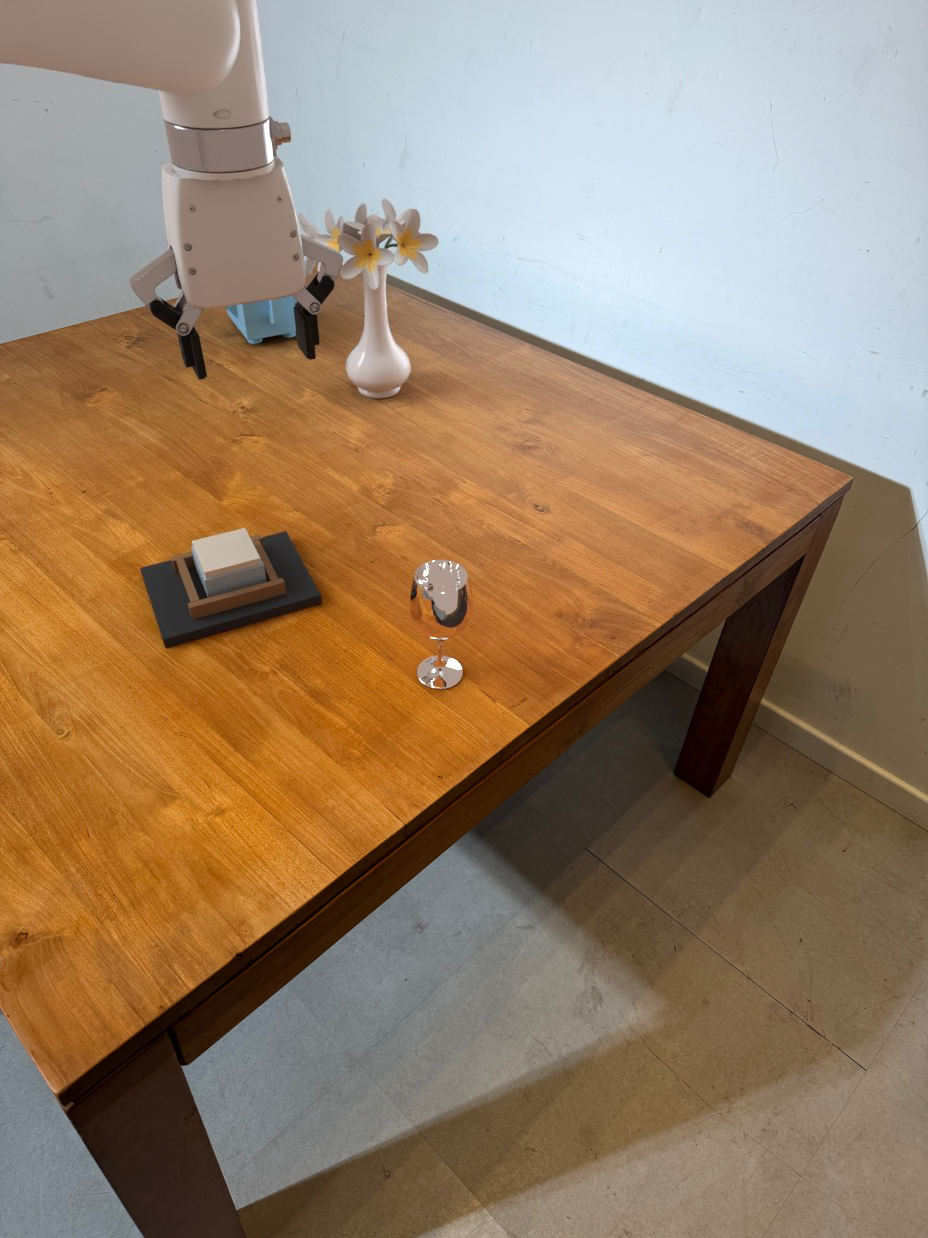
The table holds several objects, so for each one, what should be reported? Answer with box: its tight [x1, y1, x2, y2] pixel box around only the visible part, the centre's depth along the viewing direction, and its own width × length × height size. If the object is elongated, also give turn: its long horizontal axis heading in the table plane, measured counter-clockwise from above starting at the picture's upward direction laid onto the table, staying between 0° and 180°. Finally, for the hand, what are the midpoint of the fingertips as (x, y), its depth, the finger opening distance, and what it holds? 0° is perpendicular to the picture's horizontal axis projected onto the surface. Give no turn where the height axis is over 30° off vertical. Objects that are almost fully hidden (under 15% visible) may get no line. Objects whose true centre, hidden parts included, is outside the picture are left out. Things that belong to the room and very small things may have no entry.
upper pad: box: [190, 527, 267, 598], centre depth 86 cm, size 6×6×4 cm
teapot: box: [225, 259, 308, 345], centre depth 130 cm, size 16×18×11 cm
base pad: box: [139, 530, 323, 649], centre depth 87 cm, size 16×12×3 cm
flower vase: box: [297, 197, 440, 400], centre depth 112 cm, size 13×18×25 cm
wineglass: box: [407, 559, 474, 690], centre depth 76 cm, size 6×6×12 cm
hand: (254, 362), depth 73 cm, fingers open, 9 cm apart
